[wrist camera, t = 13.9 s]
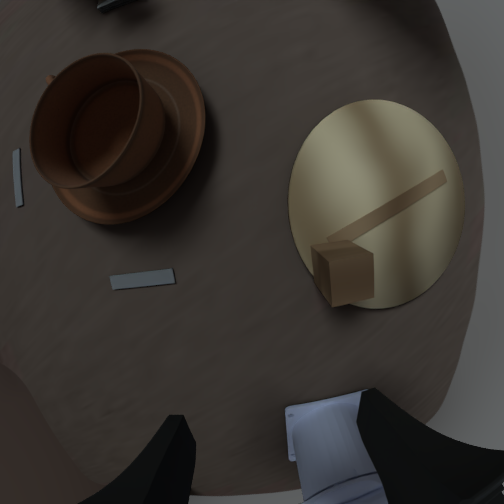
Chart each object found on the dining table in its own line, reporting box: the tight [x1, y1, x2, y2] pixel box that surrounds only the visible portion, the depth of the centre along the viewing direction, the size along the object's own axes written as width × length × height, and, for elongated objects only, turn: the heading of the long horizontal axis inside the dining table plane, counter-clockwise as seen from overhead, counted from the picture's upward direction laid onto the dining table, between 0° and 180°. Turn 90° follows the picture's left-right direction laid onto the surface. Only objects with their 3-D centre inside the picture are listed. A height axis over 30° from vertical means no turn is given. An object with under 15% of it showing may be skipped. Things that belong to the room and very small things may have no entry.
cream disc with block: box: [288, 100, 465, 309], centre depth 15 cm, size 15×15×5 cm
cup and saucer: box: [29, 49, 206, 225], centre depth 13 cm, size 12×12×6 cm
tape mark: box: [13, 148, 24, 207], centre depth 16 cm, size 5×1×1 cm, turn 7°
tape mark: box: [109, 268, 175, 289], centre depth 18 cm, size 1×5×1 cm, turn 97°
